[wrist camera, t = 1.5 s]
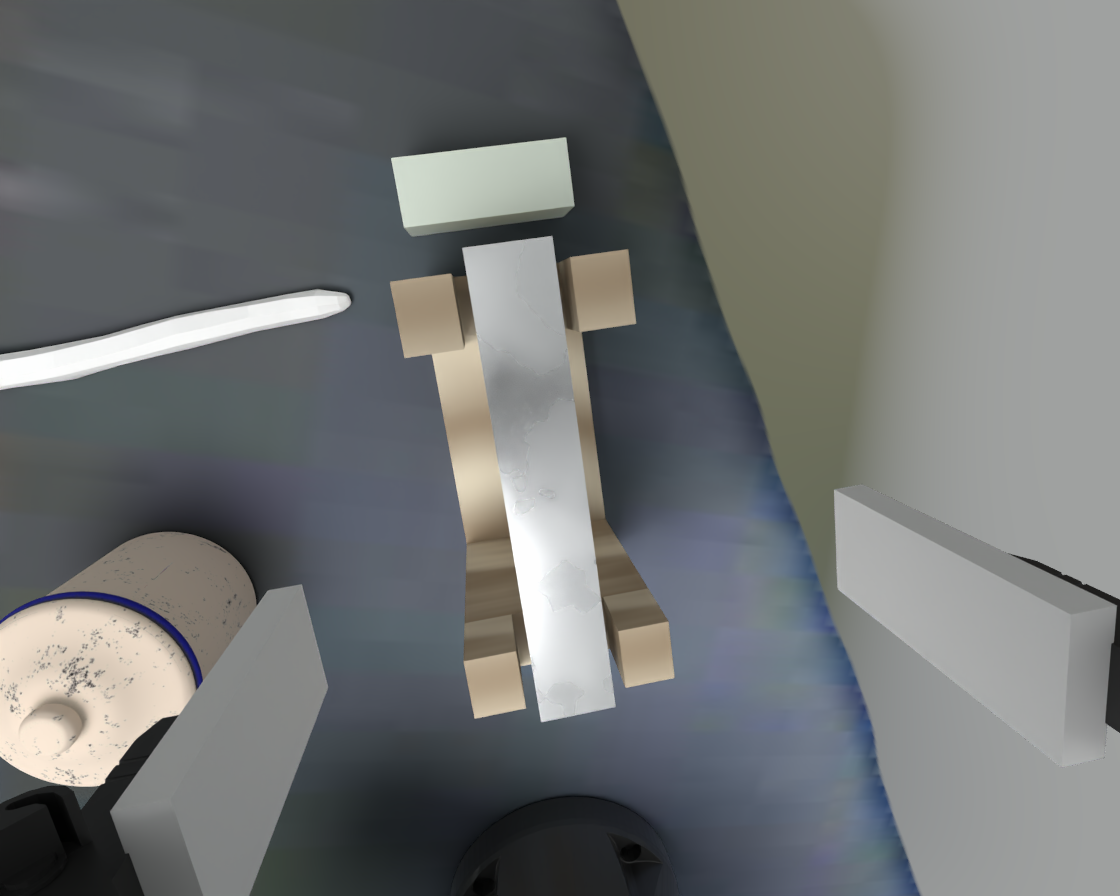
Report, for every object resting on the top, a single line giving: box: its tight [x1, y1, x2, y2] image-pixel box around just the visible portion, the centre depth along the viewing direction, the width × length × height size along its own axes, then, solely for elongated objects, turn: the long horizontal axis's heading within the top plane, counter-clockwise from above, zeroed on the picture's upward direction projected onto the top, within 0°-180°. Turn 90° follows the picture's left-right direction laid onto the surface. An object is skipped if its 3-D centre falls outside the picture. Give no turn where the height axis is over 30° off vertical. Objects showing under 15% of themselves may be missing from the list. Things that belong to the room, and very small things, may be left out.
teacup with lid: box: [0, 532, 257, 786], centre depth 31 cm, size 12×9×12 cm
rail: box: [462, 236, 616, 722], centre depth 25 cm, size 18×3×3 cm, turn 8°
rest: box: [391, 137, 575, 237], centre depth 30 cm, size 16×8×4 cm, turn 8°
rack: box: [390, 249, 674, 719], centre depth 30 cm, size 16×8×14 cm, turn 8°
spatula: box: [0, 289, 351, 390], centre depth 31 cm, size 28×4×3 cm, turn 102°
